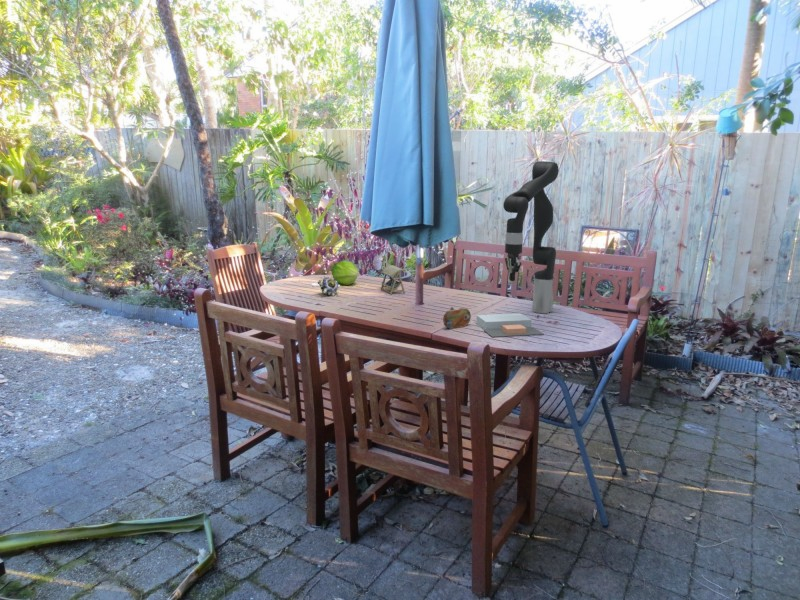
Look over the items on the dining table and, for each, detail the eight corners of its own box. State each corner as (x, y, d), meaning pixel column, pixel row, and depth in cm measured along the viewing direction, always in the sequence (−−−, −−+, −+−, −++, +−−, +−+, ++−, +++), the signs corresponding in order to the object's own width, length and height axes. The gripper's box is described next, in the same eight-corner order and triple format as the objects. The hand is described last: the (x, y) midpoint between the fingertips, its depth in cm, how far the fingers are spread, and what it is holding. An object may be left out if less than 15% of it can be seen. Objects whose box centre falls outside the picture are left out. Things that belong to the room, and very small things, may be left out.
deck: (519, 321, 257) (520, 313, 256) (530, 328, 246) (531, 319, 245) (476, 323, 253) (476, 315, 252) (485, 330, 241) (485, 322, 240)
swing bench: (380, 289, 321) (380, 265, 318) (394, 288, 325) (394, 264, 322) (390, 295, 308) (391, 269, 305) (405, 293, 312) (406, 268, 309)
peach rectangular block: (526, 328, 235) (526, 333, 236) (520, 324, 241) (520, 329, 241) (507, 329, 233) (506, 334, 234) (501, 325, 239) (501, 330, 240)
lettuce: (368, 283, 334) (349, 290, 324) (344, 277, 350) (325, 284, 339) (365, 260, 330) (346, 266, 319) (341, 256, 345) (322, 262, 335)
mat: (533, 328, 245) (533, 327, 245) (543, 334, 236) (543, 333, 236) (483, 331, 240) (483, 329, 240) (492, 337, 231) (492, 336, 231)
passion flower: (332, 306, 305) (326, 290, 295) (316, 299, 311) (309, 283, 301) (346, 291, 311) (340, 275, 301) (329, 284, 317) (323, 268, 307)
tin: (446, 330, 241) (446, 312, 239) (441, 328, 243) (442, 310, 241) (470, 325, 250) (471, 307, 248) (466, 323, 252) (466, 306, 250)
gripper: (528, 244, 233) (526, 283, 237) (515, 240, 245) (513, 277, 250) (512, 244, 231) (510, 284, 236) (500, 240, 244) (498, 278, 248)
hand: (511, 280), depth 243 cm, fingers closed
